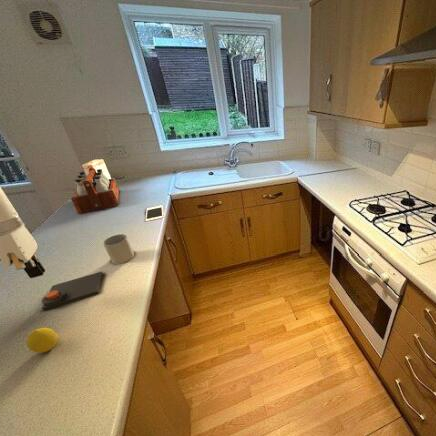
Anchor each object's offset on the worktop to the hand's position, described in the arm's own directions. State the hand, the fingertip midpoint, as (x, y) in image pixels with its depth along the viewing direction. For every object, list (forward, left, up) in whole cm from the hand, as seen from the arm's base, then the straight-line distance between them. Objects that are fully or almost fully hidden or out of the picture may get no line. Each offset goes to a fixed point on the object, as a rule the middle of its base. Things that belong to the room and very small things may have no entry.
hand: (38, 274), depth 76 cm
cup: (+19, +18, -13) cm, 29 cm away
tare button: (0, 0, -10) cm, 10 cm away
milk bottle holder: (+1, +100, -13) cm, 100 cm away
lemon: (+3, -20, -13) cm, 25 cm away
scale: (+5, +4, -13) cm, 14 cm away
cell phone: (+32, +58, -13) cm, 68 cm away
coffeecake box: (-1, +135, -13) cm, 135 cm away
